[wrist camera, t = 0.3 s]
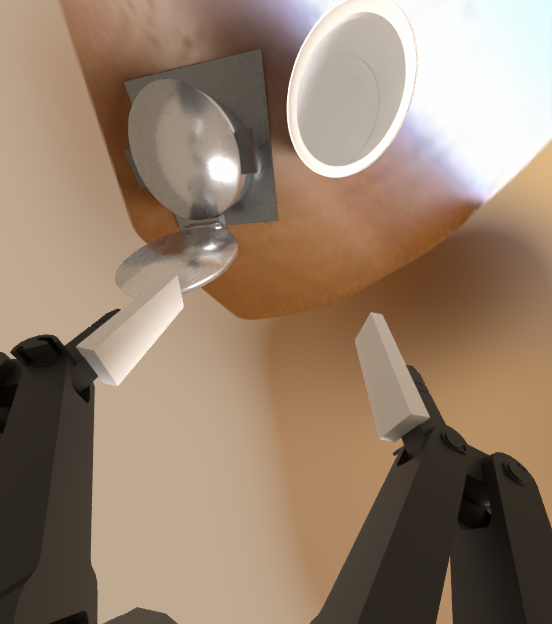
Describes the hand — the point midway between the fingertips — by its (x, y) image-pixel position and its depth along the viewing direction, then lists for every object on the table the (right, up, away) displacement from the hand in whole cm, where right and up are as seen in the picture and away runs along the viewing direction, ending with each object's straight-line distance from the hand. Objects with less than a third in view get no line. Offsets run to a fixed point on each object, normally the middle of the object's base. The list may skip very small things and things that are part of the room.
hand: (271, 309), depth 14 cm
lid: (-12, +7, +11) cm, 17 cm away
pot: (-10, +25, +19) cm, 33 cm away
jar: (+8, +27, +15) cm, 32 cm away
